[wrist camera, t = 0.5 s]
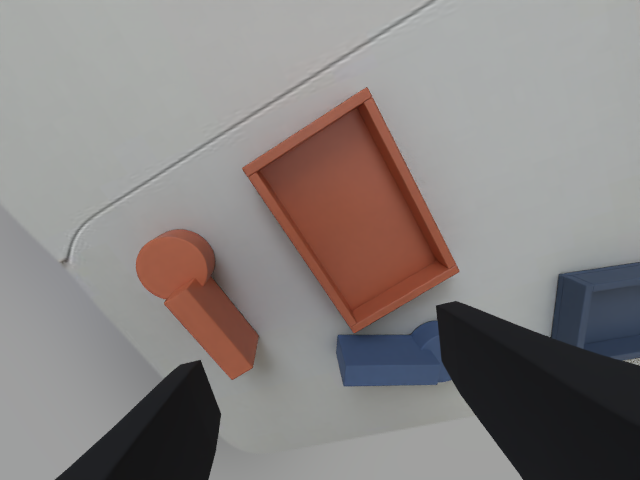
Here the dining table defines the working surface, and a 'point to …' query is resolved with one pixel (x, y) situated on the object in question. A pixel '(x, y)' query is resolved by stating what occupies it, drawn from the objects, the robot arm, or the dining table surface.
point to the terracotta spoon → (197, 298)
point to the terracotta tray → (354, 211)
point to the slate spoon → (392, 358)
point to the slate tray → (600, 310)
